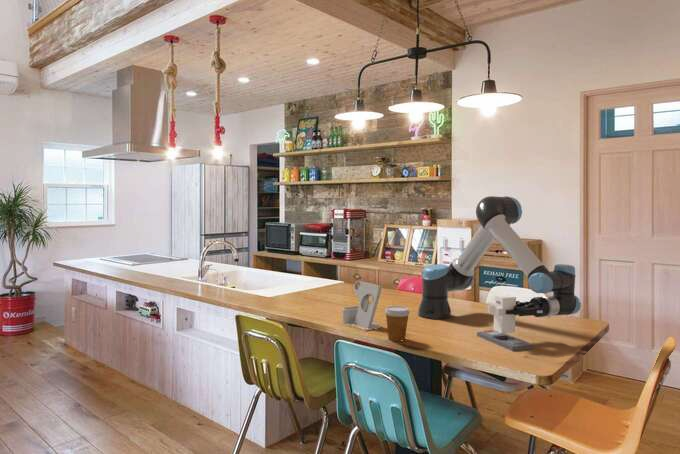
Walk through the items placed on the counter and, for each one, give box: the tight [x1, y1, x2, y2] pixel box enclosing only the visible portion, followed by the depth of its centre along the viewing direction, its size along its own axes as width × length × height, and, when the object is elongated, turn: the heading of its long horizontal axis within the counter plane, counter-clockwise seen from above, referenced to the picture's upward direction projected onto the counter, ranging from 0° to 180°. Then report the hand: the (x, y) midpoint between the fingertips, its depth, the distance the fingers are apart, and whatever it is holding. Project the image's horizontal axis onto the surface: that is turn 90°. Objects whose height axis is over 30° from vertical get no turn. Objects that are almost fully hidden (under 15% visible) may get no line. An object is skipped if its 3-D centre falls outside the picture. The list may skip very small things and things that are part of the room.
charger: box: [493, 294, 517, 334], centre depth 179 cm, size 4×6×13 cm
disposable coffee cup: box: [384, 305, 411, 342], centre depth 186 cm, size 10×10×12 cm
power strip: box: [476, 328, 534, 352], centre depth 179 cm, size 20×9×4 cm, turn 20°
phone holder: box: [341, 280, 383, 331], centre depth 207 cm, size 17×10×18 cm, turn 37°
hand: (492, 310), depth 177 cm, fingers closed on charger, 4 cm apart
